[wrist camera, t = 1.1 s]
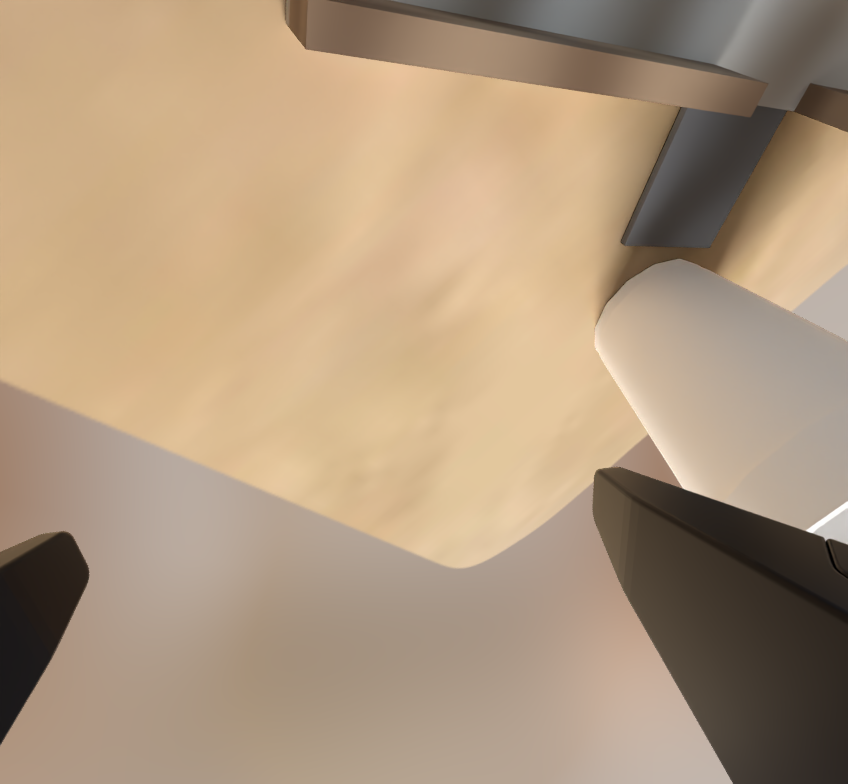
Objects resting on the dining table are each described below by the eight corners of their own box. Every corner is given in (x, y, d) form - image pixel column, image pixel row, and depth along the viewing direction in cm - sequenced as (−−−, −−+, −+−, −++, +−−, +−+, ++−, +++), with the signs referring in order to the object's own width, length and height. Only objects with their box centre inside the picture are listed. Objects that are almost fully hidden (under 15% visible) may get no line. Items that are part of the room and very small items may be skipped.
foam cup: (715, 345, 31) (931, 532, 22) (571, 408, 31) (733, 626, 22) (748, 196, 24) (1080, 382, 16) (562, 275, 24) (794, 514, 15)
